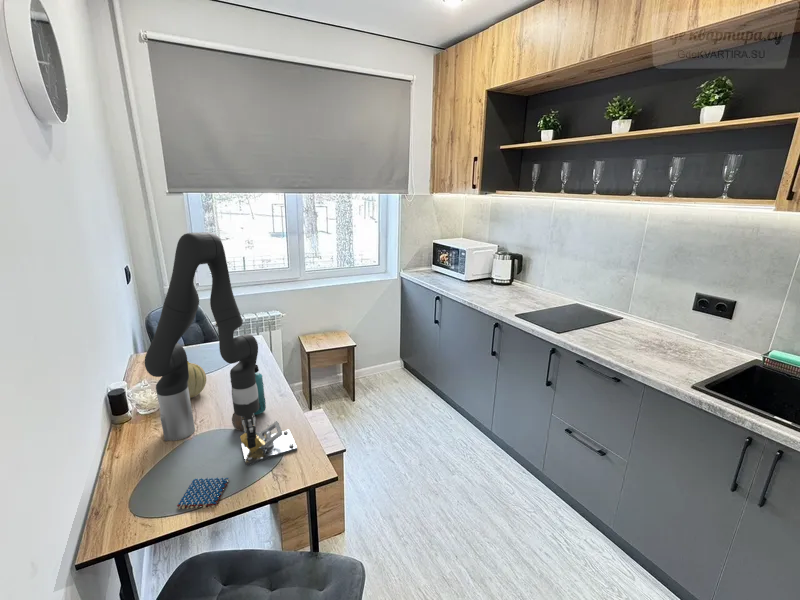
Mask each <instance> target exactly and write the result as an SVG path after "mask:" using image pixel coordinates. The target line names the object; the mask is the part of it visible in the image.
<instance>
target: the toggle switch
mask: <svg viewBox="0 0 800 600" xmlns="http://www.w3.org/2000/svg"><path fill="white" fill-rule="evenodd" d="M282 433H283V435H282V436H280V437H279V438H278V439H276V440H275V441H274V442H272V443H271V444H270V445H268V446H267V447H266V448H263V447H262V446H261V447H260V448H258V449H257V450H256V451H254V452H253V453H252V452H251V451H250V450H249V449H248V448H247V447H246V446H245V445H244V444H243V443H242V442H241V443H240V445H241V450H242V454H243V459H245V460H244V462H245V466H246V465H247V466H250V464H251V465H254V464H256V463H260V462H263V461H267V460H269V459H273V458H276V457H277V458H278V457H279V456H282V455H286V454H289V453H292V452H295V451H298V446H297V444H296V442H295V439H294V438H293V434H292V433H291V431H290V429H286V430H282ZM275 434H276V433H273V434H272V430H271V431H265V432H264V435H265V436H264V439H265V442H266V441H267V440H268V439H270V438H271V437H272V436H274V435H275ZM253 463H254V464H253Z"/></svg>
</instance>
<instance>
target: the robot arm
mask: <svg viewBox="0 0 800 600" xmlns="http://www.w3.org/2000/svg"><path fill="white" fill-rule="evenodd" d="M206 264H207V266H208V268H209V271H210V274H211V275H210V276H211V283H212V284H211V290H210V291H211V292H210V297H209V299H210V300H209V301H210V302H209V305H210V309H211V313H212V316H213V318H214V321H215V323H216V327H217V329H218V330H217V332H218V343H219V346H218V347H219V354H220V356H221V358H222V359H223V360H224V361H225V362H226V363H228V364H236V363H237V364H236V365H234V366H233V367H232V368H231V369H230V371H229V378H230V383H231V398H232V406H233V413H235V414H236V415H238V416H241V420H242V424H243V427H244V431H243V432H244V433H246V435H247V437H246V438H247V440H248V447H249V448H253V447H255V446H256V443H255V439H256V434H257V431H256V430H257V427H256V421H257V420H256V415H255V414H254V413H256V412H257V411H258V410H259V407H260V406H259V397H258V389H257V385H256V378H255V366H256V365H257V359H258V355H259V345H258V341H257V339H256V338H255V336H253V334H249V333H245V334H241V335H239V336H235V337H234V333H235V330H238V329H239V328H240V327H241V326H242V325H243V318H242V315H241V312H240V310H239V307H238V304H237V302H236V298H235V295H234V293H233V288H232V284H231V283H232V282H231V278H230V273H229V268H228V262H227V258H226V252H225V248H224V245H223V241H222V240H221V238H220V237H219V236H218V235H217V234H215V232H208V231H207V232H206V231H205V232H187V233H184V234H183V235H182V236H180V238H179V240H178V242H177V245H176V248H175V254H174V261H173V268H172V273H171V277H170V282H169V286H168V289H167V293H166V295H165V298H164V302H163V306H162V309H161V314H160V316H159V320H158V323H157V326H156V330H155V333H154V335H153V339H152V340H151V343H150V345H149V347H148V349H147V352H146V354H145V356H144V368H145V370H146V371H147V373H148V374H149V375H150V376H152V377H155V378H160V377H161V378H160V379H159V380H158V381H157V383H156V385H155V390H156V397H157V401H158V406H159V412H160V416H159V417H160V421H161V429H162V433H163V438H164V441H165V442H167V441H174V442H175V441H180V440H183V439H186V438H189V436H191V435H192V434H193V433H194V432H195V431H196V430H195V429H196V428H195V427H196V426H195V422H194V421H195V420H194V415H193V408H192V403H191V402H192V401H191V398H190V395H189V389H188V379H189V371H188V362H189V361H188V356H187V352H186V350H185V348H184V347H183V346H182V344H180V343H179V341H180V339H181V338H182V337H183V336H184V335H185V333H186V332H187V330H188V329H189V328H190V326H191V325H192V324H193V322H194V319H195V318H196V315H197V312H198V308H199V306H200V296H199V293H198V291H197V288H196V286H195V283H194V280H195V276H196V273H197V269H198V267H199V266H200V265H206Z"/></svg>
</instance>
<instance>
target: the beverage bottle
mask: <svg viewBox="0 0 800 600" xmlns="http://www.w3.org/2000/svg"><path fill="white" fill-rule="evenodd" d="M259 371H260V369H259V365H258V364H256V366H255V378H256V385H257V389H258V397H259V406H260V407H259V410H258V411H257V412H256V413H254V415H259V414H262V413H264V412H265V411H266V408H267V402H266V397H265V388H264V387H265V386H264V381H263V379H264V378H263V375H262V373H260V372H259Z"/></svg>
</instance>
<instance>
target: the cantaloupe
mask: <svg viewBox="0 0 800 600" xmlns="http://www.w3.org/2000/svg"><path fill="white" fill-rule="evenodd" d="M188 371H189V379H188V389H189V395H190V399H191V398H195V397H197V396H198V395H199V394H200V393H201V392H203V390H204V389H205V387H206V384H207V373H206V372H205V370H204V369H203V368H202V367H201V366H200V365H199V364H196V363H193V362H189V361H188Z"/></svg>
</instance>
